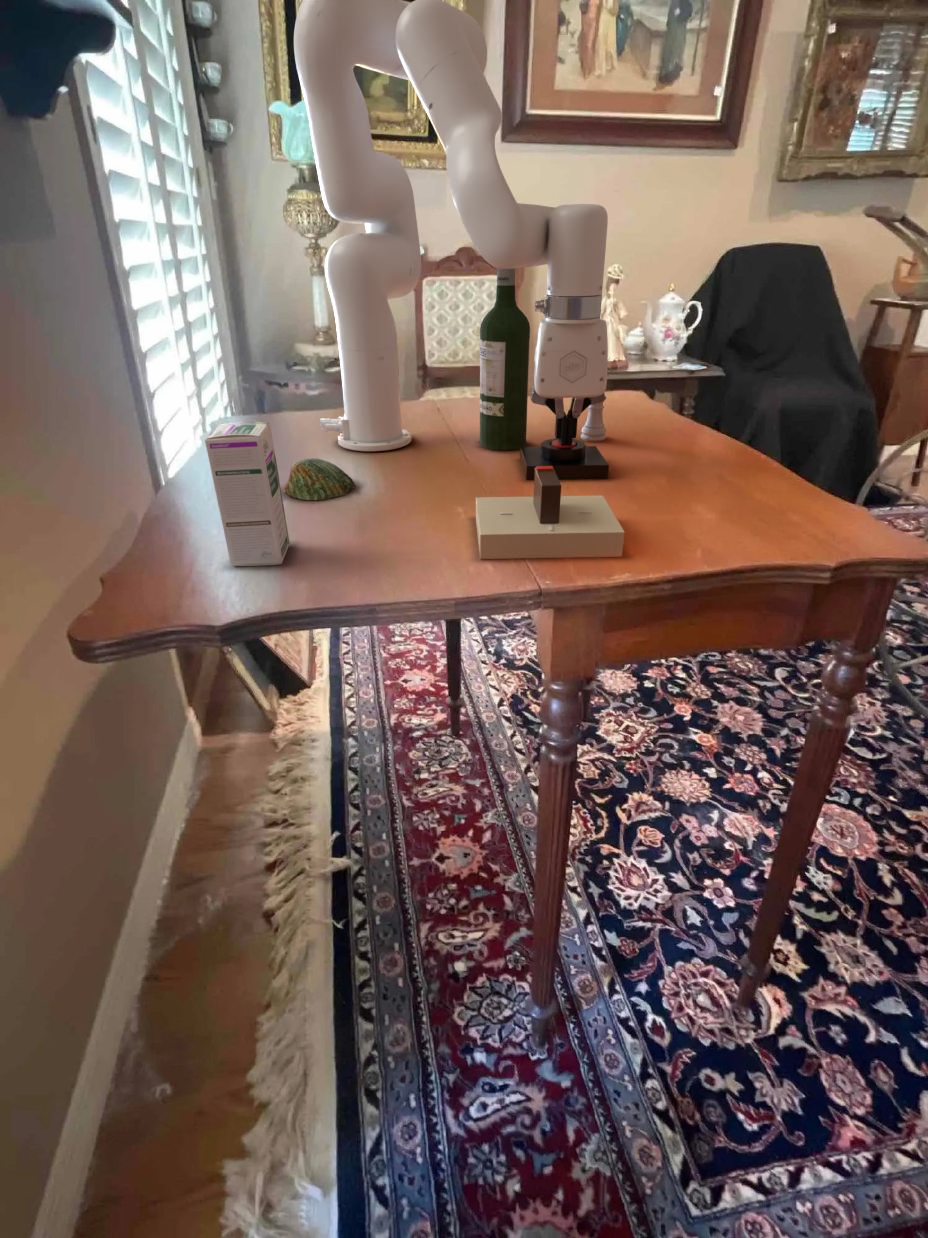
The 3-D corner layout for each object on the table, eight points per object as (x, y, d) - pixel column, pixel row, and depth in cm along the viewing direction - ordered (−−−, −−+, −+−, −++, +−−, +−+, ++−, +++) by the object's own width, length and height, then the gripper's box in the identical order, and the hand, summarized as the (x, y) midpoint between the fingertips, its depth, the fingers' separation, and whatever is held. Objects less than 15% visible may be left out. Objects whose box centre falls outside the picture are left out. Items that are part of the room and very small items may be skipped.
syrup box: (283, 565, 76) (263, 434, 69) (228, 567, 76) (203, 435, 69) (290, 544, 81) (272, 420, 74) (239, 546, 81) (216, 421, 74)
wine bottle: (470, 444, 118) (469, 245, 103) (503, 436, 122) (507, 243, 107) (502, 454, 113) (506, 245, 98) (535, 445, 117) (544, 244, 102)
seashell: (306, 474, 91) (266, 459, 97) (308, 504, 92) (269, 488, 99) (367, 464, 97) (326, 450, 103) (368, 492, 99) (327, 477, 105)
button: (552, 457, 103) (553, 446, 102) (549, 450, 106) (550, 439, 105) (576, 457, 103) (577, 445, 102) (572, 450, 106) (573, 439, 105)
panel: (480, 559, 77) (480, 533, 76) (475, 519, 88) (475, 495, 86) (621, 556, 78) (624, 530, 76) (600, 517, 88) (603, 493, 87)
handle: (559, 523, 78) (561, 483, 76) (539, 523, 78) (541, 483, 76) (551, 503, 84) (553, 465, 82) (533, 503, 84) (534, 465, 82)
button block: (526, 480, 101) (527, 453, 99) (519, 460, 110) (520, 435, 108) (607, 479, 101) (610, 452, 99) (594, 459, 110) (596, 434, 108)
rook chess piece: (607, 442, 118) (612, 394, 114) (581, 442, 118) (585, 394, 114) (603, 435, 122) (608, 389, 118) (578, 435, 122) (582, 389, 118)
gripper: (521, 313, 91) (517, 451, 100) (634, 311, 91) (620, 449, 100) (516, 307, 97) (513, 437, 106) (621, 305, 98) (609, 435, 107)
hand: (565, 442), depth 103 cm, fingers closed
